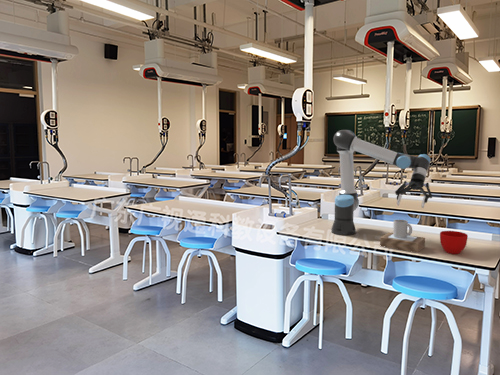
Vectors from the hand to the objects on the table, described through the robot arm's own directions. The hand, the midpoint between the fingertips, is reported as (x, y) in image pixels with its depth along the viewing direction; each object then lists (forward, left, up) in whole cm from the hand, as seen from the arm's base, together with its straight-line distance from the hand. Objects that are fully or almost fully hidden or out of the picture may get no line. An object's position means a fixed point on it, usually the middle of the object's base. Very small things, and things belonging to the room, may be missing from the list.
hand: (409, 205), depth 226 cm
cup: (+8, -8, -16) cm, 20 cm away
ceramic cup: (+20, +13, -22) cm, 32 cm away
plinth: (+8, -8, -22) cm, 24 cm away
